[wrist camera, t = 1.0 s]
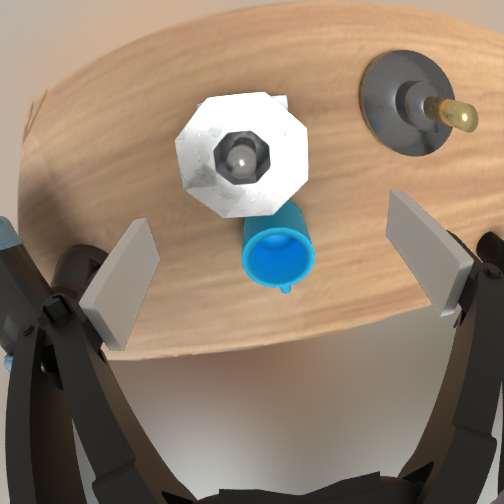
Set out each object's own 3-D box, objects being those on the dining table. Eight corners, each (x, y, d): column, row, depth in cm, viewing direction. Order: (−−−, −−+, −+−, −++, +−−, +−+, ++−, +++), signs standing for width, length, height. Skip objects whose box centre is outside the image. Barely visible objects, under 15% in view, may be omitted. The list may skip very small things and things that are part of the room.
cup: (482, 265, 42) (513, 304, 32) (466, 252, 40) (501, 294, 30) (502, 236, 38) (537, 272, 28) (488, 220, 36) (528, 258, 26)
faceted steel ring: (197, 204, 30) (189, 221, 26) (180, 102, 23) (169, 104, 20) (301, 196, 29) (308, 212, 26) (297, 90, 23) (304, 91, 20)
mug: (237, 204, 36) (233, 235, 29) (299, 191, 35) (310, 220, 28) (257, 275, 43) (257, 314, 36) (310, 265, 42) (320, 303, 35)
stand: (209, 180, 34) (190, 225, 24) (199, 103, 29) (170, 112, 19) (289, 174, 34) (305, 216, 24) (285, 95, 28) (301, 99, 18)
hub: (358, 150, 32) (404, 184, 21) (356, 43, 24) (406, 28, 13) (444, 155, 31) (500, 190, 20) (447, 63, 23) (510, 69, 13)
